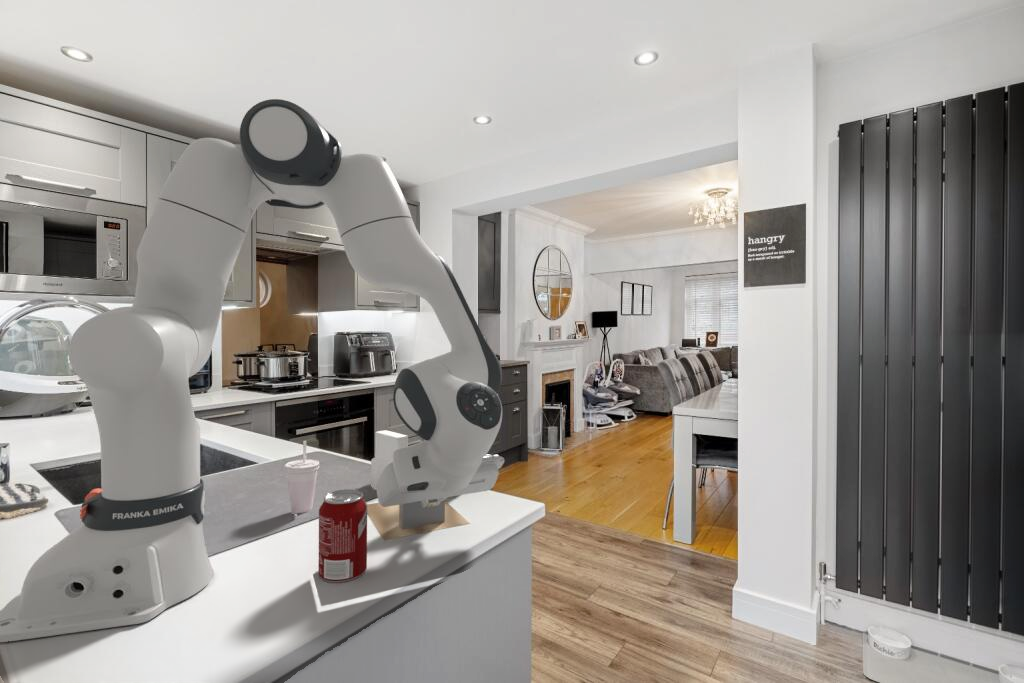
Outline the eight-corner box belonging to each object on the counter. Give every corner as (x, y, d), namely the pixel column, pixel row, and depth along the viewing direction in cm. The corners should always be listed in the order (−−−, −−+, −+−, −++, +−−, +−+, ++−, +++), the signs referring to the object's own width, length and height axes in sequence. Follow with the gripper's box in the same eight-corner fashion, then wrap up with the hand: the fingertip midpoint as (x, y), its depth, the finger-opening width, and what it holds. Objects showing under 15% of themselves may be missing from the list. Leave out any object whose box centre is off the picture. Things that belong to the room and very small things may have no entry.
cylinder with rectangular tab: (363, 485, 114) (363, 433, 113) (395, 476, 121) (395, 428, 120) (386, 494, 108) (386, 440, 108) (418, 484, 115) (419, 433, 114)
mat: (383, 543, 84) (383, 539, 84) (362, 508, 99) (362, 505, 99) (470, 526, 91) (470, 523, 91) (437, 496, 107) (437, 493, 107)
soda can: (351, 590, 69) (352, 505, 68) (308, 584, 70) (309, 501, 70) (374, 567, 75) (375, 489, 75) (334, 562, 77) (335, 486, 76)
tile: (402, 529, 88) (403, 474, 88) (398, 524, 90) (399, 470, 90) (444, 521, 92) (445, 468, 91) (440, 517, 94) (440, 465, 94)
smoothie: (326, 510, 98) (326, 440, 97) (297, 521, 92) (297, 447, 92) (306, 503, 101) (306, 436, 101) (277, 513, 96) (277, 442, 95)
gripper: (501, 439, 85) (477, 479, 94) (383, 451, 75) (369, 494, 84) (513, 471, 81) (487, 509, 90) (390, 488, 72) (374, 529, 80)
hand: (429, 502), depth 87 cm, fingers closed
